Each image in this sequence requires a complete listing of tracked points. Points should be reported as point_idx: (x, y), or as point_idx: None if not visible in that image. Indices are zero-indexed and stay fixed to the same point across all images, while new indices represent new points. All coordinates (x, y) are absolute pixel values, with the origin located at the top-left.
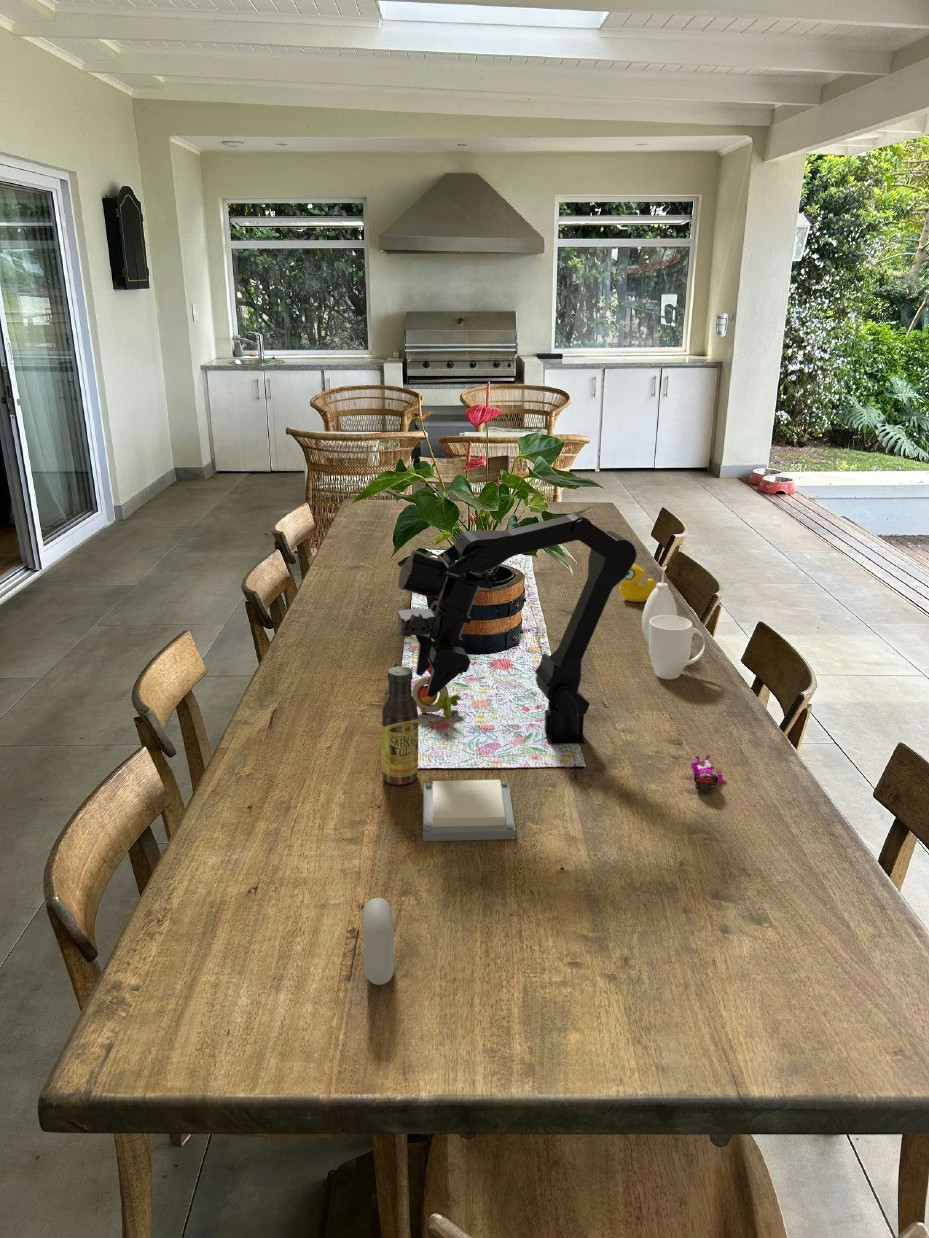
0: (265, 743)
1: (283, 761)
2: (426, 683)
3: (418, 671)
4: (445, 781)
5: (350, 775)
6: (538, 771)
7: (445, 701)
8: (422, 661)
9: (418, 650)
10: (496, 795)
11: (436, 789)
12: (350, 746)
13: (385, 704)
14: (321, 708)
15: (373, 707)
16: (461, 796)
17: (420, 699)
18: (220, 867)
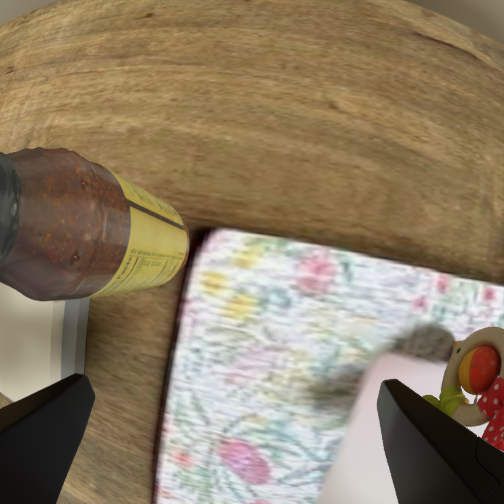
0: (357, 18)
1: (283, 33)
2: (500, 375)
3: (387, 397)
4: (50, 326)
5: (192, 139)
6: (141, 498)
7: (444, 412)
8: (413, 452)
9: (499, 453)
10: (15, 394)
11: (30, 300)
12: (329, 147)
13: (16, 152)
14: (492, 125)
15: (497, 230)
16: (11, 337)
17: (479, 346)
18: (52, 30)
